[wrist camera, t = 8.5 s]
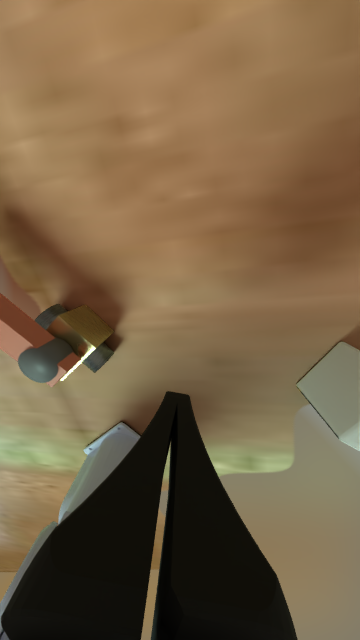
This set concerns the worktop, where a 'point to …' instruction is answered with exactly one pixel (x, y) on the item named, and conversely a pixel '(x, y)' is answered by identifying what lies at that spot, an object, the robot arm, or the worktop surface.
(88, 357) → the valve
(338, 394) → the medicine bottle
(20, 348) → the lever
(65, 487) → the worktop surface
